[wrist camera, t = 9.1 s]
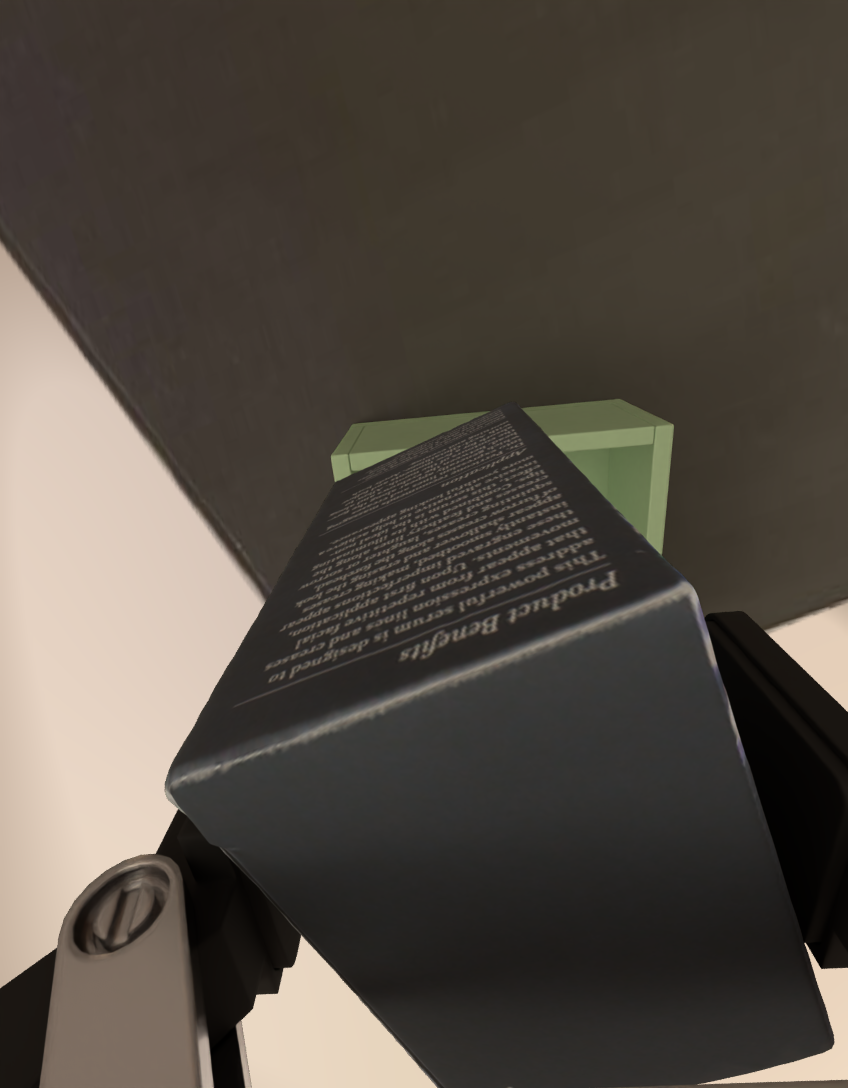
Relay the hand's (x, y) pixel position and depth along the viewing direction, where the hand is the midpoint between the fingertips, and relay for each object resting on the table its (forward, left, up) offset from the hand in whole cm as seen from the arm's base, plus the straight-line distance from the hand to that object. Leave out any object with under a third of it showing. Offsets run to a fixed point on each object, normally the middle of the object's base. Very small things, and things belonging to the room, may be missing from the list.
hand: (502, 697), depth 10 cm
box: (0, 0, -6) cm, 6 cm away
